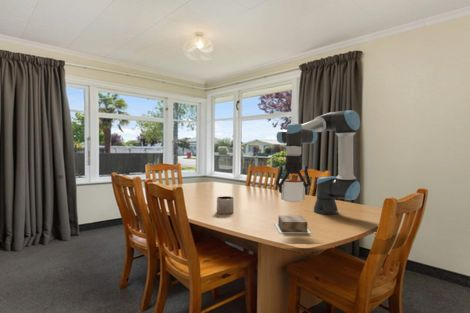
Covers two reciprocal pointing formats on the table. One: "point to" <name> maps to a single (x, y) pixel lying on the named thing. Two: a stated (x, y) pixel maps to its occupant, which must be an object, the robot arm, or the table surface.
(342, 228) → the table surface
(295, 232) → the build board
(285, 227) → the base block
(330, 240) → the table surface
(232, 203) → the planter
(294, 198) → the cup
